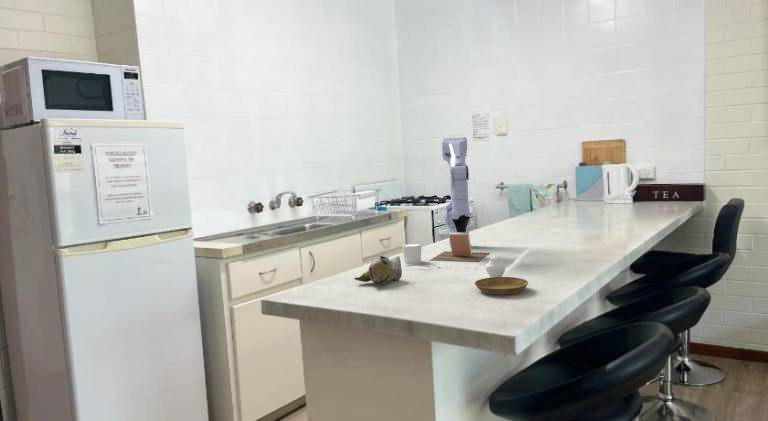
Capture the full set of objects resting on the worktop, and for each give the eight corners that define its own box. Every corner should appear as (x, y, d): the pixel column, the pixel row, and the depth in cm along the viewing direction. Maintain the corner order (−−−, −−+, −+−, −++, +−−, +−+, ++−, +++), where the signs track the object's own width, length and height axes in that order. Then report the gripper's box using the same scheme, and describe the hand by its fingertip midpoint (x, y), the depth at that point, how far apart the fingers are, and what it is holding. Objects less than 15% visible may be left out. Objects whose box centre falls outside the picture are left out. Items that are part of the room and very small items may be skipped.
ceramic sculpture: (410, 252, 183) (373, 263, 174) (412, 280, 185) (376, 292, 175) (387, 249, 191) (350, 260, 182) (390, 276, 193) (353, 287, 183)
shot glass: (422, 262, 212) (421, 243, 212) (422, 266, 206) (421, 246, 205) (403, 262, 213) (402, 243, 212) (402, 266, 206) (401, 246, 206)
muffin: (506, 280, 179) (505, 257, 178) (485, 280, 180) (484, 257, 179) (506, 275, 185) (505, 253, 184) (486, 275, 186) (485, 253, 185)
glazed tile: (453, 253, 218) (449, 232, 214) (471, 254, 216) (468, 232, 212) (452, 255, 217) (448, 234, 213) (470, 256, 214) (467, 234, 210)
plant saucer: (475, 298, 161) (475, 289, 160) (474, 285, 175) (474, 277, 175) (531, 297, 159) (531, 288, 158) (525, 284, 173) (525, 276, 173)
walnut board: (444, 254, 226) (444, 251, 226) (491, 255, 219) (491, 252, 219) (428, 263, 210) (428, 260, 210) (478, 265, 203) (478, 262, 203)
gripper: (455, 197, 222) (456, 233, 224) (443, 201, 209) (444, 239, 211) (473, 197, 220) (474, 233, 221) (462, 201, 206) (464, 239, 208)
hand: (461, 236), depth 216 cm, fingers closed
